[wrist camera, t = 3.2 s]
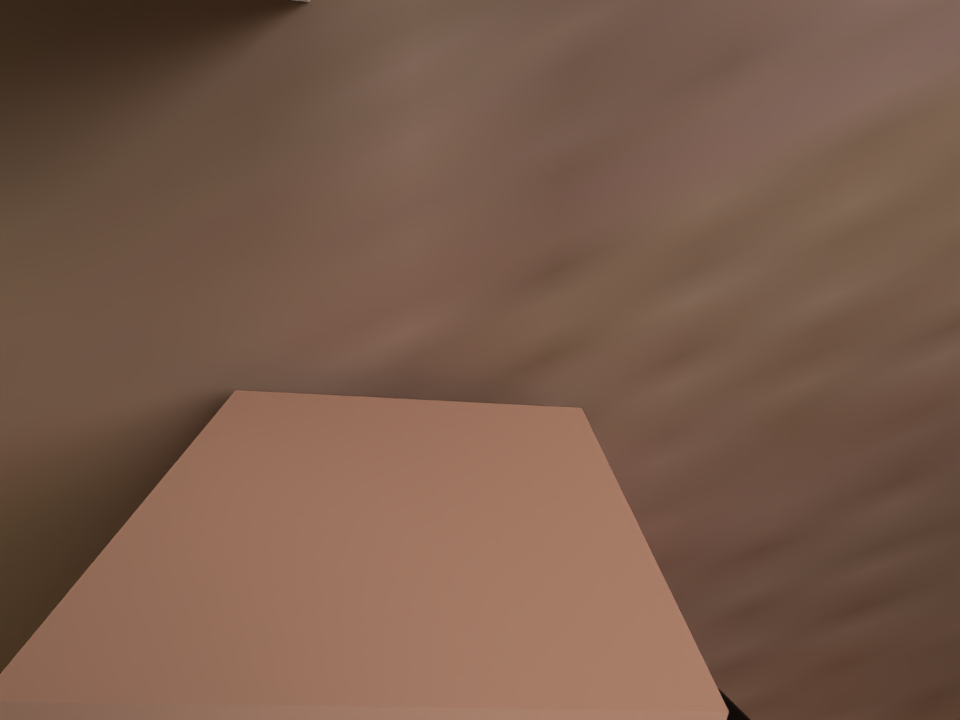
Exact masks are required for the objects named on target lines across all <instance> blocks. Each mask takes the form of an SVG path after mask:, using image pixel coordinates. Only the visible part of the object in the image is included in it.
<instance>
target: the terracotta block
mask: <svg viewBox="0 0 960 720" xmlns="http://www.w3.org/2000/svg"><path fill="white" fill-rule="evenodd" d="M728 713H729V711H728V709H727V707H726V705H725V703H724V701H723V698H722V696H721V694H720V692H719V690H718V688H717V686H716V684H715V682H714V680H713V678H712V676H711V674H710V672H709V670H708V668H707V665H706V663H705V661H704V659H703V657H702V655H701V653H700V651H699V649H698V647H697V645H696V643H695V641H694V639H693V637H692V635H691V633H690V630H689V628H688V626H687V624H686V622H685V620H684V618H683V616H682V614H681V612H680V610H679V608H678V606H677V604H676V602H675V600H674V597H673V595H672V593H671V591H670V589H669V587H668V585H667V583H666V581H665V579H664V577H663V575H662V573H661V571H660V569H659V567H658V565H657V562H656V560H655V558H654V556H653V554H652V552H651V550H650V548H649V546H648V544H647V542H646V540H645V538H644V536H643V534H642V532H641V529H640V527H639V525H638V523H637V521H636V519H635V517H634V515H633V513H632V511H631V509H630V507H629V505H628V503H627V501H626V499H625V497H624V494H623V492H622V490H621V488H620V486H619V484H618V482H617V480H616V478H615V476H614V474H613V472H612V470H611V468H610V466H609V464H608V461H607V459H606V457H605V455H604V453H603V451H602V449H601V447H600V445H599V443H598V441H597V439H596V437H595V435H594V433H593V431H592V429H591V426H590V424H589V422H588V420H587V418H586V416H585V414H584V412H583V410H582V408H572V407H552V406H533V405H514V404H495V403H475V402H456V401H437V400H418V399H398V398H379V397H360V396H340V395H321V394H302V393H283V392H263V391H244V390H235V391H234V393H233V394H232V395H231V396H230V398H229V399H228V400H227V401H226V402H225V404H224V405H223V406H222V407H221V408H220V410H219V411H218V412H217V413H216V414H215V416H214V417H213V418H212V419H211V420H210V422H209V423H208V424H207V425H206V426H205V428H204V429H203V430H202V431H201V432H200V434H199V435H198V436H197V437H196V439H195V440H194V441H193V442H192V443H191V445H190V446H189V447H188V448H187V449H186V451H185V452H184V453H183V454H182V455H181V457H180V458H179V459H178V460H177V461H176V463H175V464H174V465H173V466H172V467H171V469H170V470H169V471H168V472H167V473H166V475H165V476H164V477H163V478H162V480H161V481H160V482H159V483H158V484H157V486H156V487H155V488H154V489H153V490H152V492H151V493H150V494H149V495H148V496H147V498H146V499H145V500H144V501H143V502H142V504H141V505H140V506H139V507H138V508H137V510H136V511H135V512H134V513H133V515H132V516H131V517H130V518H129V519H128V521H127V522H126V523H125V524H124V525H123V527H122V528H121V529H120V530H119V531H118V533H117V534H116V535H115V536H114V537H113V539H112V540H111V541H110V542H109V543H108V545H107V546H106V547H105V548H104V549H103V551H102V552H101V553H100V554H99V556H98V557H97V558H96V559H95V560H94V562H93V563H92V564H91V565H90V566H89V568H88V569H87V570H86V571H85V572H84V574H83V575H82V576H81V577H80V578H79V580H78V581H77V582H76V583H75V584H74V586H73V587H72V588H71V589H70V590H69V592H68V593H67V594H66V595H65V597H64V598H63V599H62V600H61V601H60V603H59V604H58V605H57V606H56V607H55V609H54V610H53V611H52V612H51V613H50V615H49V616H48V617H47V618H46V619H45V621H44V622H43V623H42V624H41V625H40V627H39V628H38V629H37V630H36V632H35V633H34V634H33V635H32V636H31V638H30V639H29V640H28V641H27V642H26V644H25V645H24V646H23V647H22V648H21V650H20V651H19V652H18V653H17V654H16V656H15V657H14V658H13V659H12V660H11V662H10V663H9V664H8V665H7V666H6V668H5V669H4V670H3V671H2V673H1V674H0V720H727V717H728Z"/></svg>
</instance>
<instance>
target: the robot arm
mask: <svg viewBox="0 0 960 720" xmlns="http://www.w3.org/2000/svg"><path fill="white" fill-rule="evenodd" d="M717 688H718V687H717ZM718 690H719V692H720V694H721V696H722V698H723V701H724V703H725V705H726V707H727V709H728V711H729V713H728V717H727V720H750V719H749V718H748V717H747V716H746V715H745V714H744V713H743V712H742V711H741V710H740V709H739V708H738V707H737V706H736V705H735V704H734V703H733V702H732V701H731V700H730V699H729V698H728V697H727V696H726V695H725V694H724V693H723V692H722V691H721V690H720V689H719V688H718Z"/></svg>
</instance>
